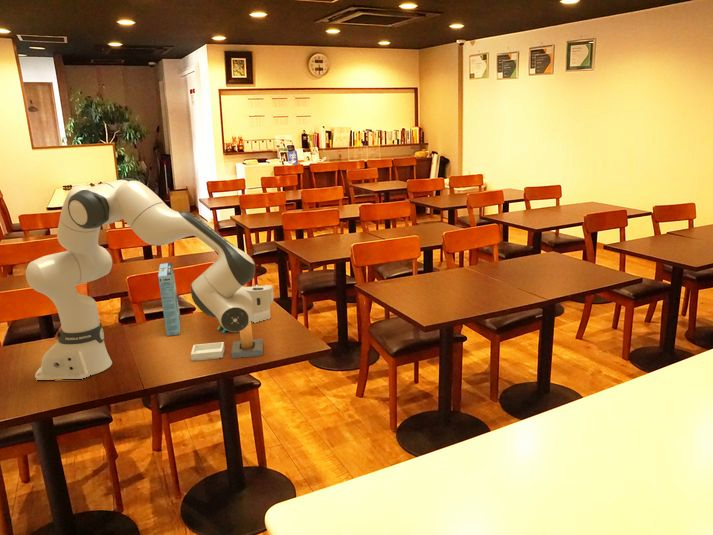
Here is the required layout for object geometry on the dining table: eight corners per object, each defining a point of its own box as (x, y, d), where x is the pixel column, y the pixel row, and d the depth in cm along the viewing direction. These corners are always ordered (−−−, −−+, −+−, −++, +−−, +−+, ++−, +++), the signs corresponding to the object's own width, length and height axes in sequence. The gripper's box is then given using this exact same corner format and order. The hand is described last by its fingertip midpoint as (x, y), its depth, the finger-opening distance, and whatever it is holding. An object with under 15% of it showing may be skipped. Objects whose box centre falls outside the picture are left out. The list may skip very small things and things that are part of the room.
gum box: (180, 334, 215) (172, 275, 209) (165, 336, 214) (157, 276, 208) (180, 317, 234) (173, 262, 227) (167, 319, 232) (159, 263, 226)
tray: (191, 361, 192) (190, 354, 191) (194, 351, 199) (193, 344, 199) (222, 358, 193) (221, 351, 192) (224, 348, 201) (223, 342, 200)
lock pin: (240, 354, 195) (236, 318, 192) (240, 349, 200) (237, 313, 196) (254, 353, 196) (251, 316, 192) (255, 347, 200) (251, 311, 197)
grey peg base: (231, 358, 192) (231, 352, 192) (233, 346, 202) (233, 341, 201) (262, 355, 194) (262, 349, 193) (262, 344, 203) (262, 338, 203)
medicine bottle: (261, 314, 233) (258, 285, 230) (271, 319, 227) (268, 289, 224) (245, 319, 228) (242, 289, 225) (255, 323, 223) (252, 293, 220)
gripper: (201, 315, 165) (206, 301, 179) (274, 309, 168) (273, 295, 181) (199, 294, 164) (204, 281, 177) (272, 288, 166) (272, 276, 180)
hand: (239, 288), depth 179 cm, fingers open, 8 cm apart
